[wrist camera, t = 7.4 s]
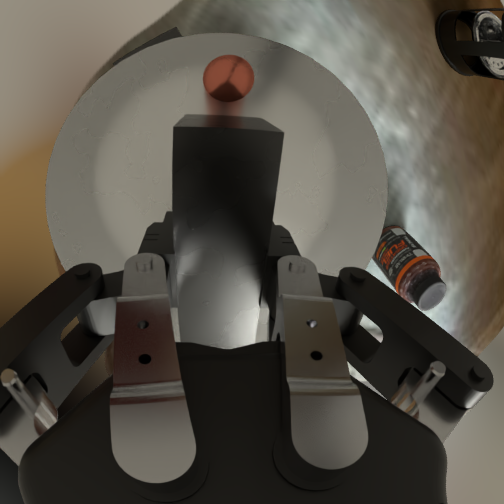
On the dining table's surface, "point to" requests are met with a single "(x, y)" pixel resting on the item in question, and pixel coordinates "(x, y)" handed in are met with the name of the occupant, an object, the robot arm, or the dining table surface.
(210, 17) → the dining table surface
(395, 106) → the dining table surface
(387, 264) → the supplement bottle
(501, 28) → the french press
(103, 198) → the cooker lid
